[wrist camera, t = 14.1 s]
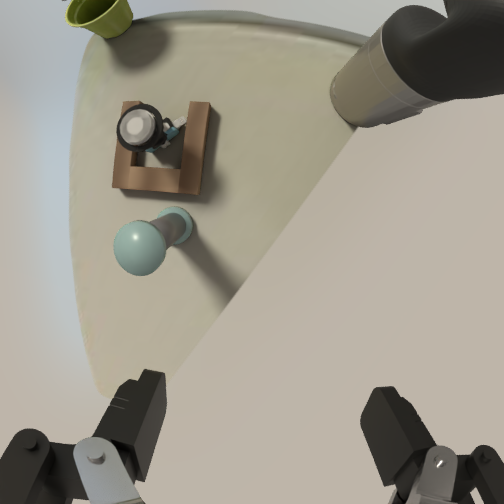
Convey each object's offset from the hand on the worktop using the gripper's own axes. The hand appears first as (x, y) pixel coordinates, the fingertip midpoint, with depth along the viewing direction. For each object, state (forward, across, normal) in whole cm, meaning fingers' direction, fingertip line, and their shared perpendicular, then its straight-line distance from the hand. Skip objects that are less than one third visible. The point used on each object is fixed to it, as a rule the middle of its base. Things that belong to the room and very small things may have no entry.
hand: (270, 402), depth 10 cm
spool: (+30, +11, 0) cm, 32 cm away
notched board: (+30, +14, -11) cm, 35 cm away
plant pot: (+30, +26, -32) cm, 51 cm away
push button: (+30, +14, -13) cm, 35 cm away
